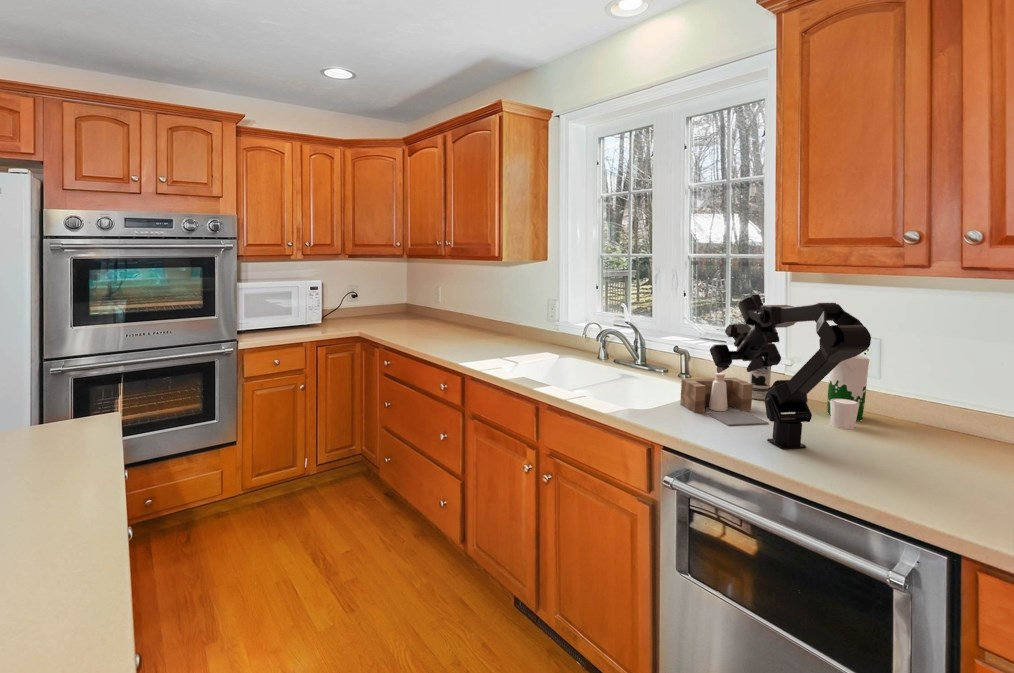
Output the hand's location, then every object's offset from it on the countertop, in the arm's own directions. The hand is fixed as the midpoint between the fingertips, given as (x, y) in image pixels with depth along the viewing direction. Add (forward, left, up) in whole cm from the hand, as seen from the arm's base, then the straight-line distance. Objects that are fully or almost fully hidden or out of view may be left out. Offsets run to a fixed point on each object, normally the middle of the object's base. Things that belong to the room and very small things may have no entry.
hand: (732, 371), depth 164 cm
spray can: (+18, -20, -13) cm, 30 cm away
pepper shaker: (+7, 0, -13) cm, 15 cm away
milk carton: (-6, -32, -13) cm, 35 cm away
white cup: (-14, -25, -13) cm, 32 cm away
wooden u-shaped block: (+9, 0, -13) cm, 16 cm away
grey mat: (-4, 0, -13) cm, 14 cm away
